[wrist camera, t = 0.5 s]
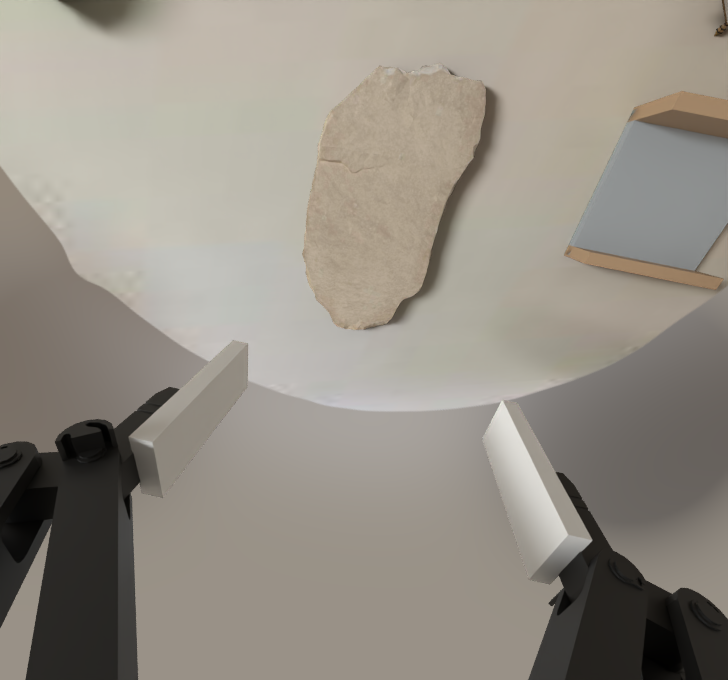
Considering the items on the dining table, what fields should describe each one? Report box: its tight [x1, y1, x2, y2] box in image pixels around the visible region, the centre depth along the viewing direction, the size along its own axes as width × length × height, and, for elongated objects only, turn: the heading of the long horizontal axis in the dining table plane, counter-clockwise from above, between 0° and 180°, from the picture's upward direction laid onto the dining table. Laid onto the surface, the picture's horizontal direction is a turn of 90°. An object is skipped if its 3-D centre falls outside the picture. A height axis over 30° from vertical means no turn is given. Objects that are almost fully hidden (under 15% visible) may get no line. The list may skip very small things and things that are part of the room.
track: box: [564, 91, 728, 290], centre depth 30 cm, size 14×14×6 cm
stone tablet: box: [302, 63, 486, 330], centre depth 36 cm, size 16×30×2 cm, turn 162°
